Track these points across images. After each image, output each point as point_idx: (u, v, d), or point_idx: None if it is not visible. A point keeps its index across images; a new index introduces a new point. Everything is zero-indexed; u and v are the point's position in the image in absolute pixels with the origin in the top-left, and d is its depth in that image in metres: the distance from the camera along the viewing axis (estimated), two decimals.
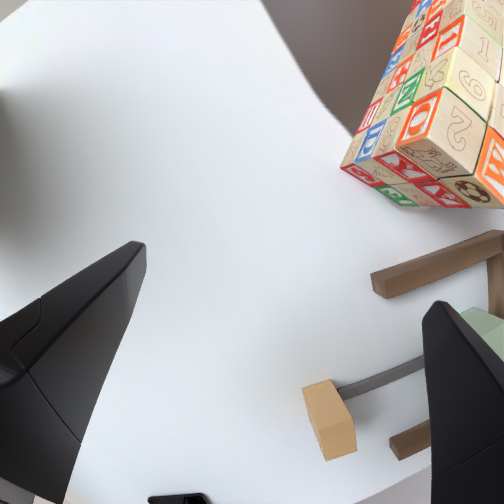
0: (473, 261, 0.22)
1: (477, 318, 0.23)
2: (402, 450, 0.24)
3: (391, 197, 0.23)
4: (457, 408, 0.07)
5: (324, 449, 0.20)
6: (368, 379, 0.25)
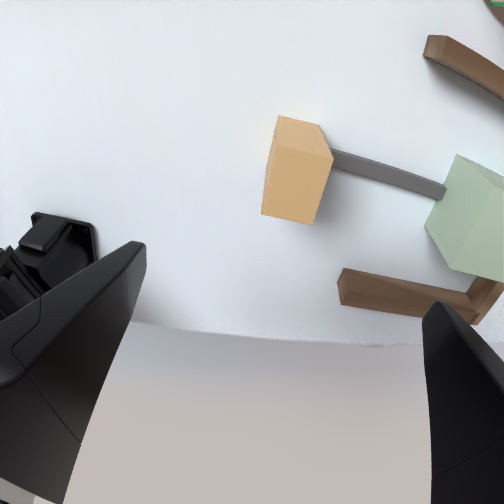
0: None
1: None
2: (352, 291, 0.22)
3: None
4: (457, 408, 0.07)
5: (269, 189, 0.14)
6: (364, 158, 0.19)
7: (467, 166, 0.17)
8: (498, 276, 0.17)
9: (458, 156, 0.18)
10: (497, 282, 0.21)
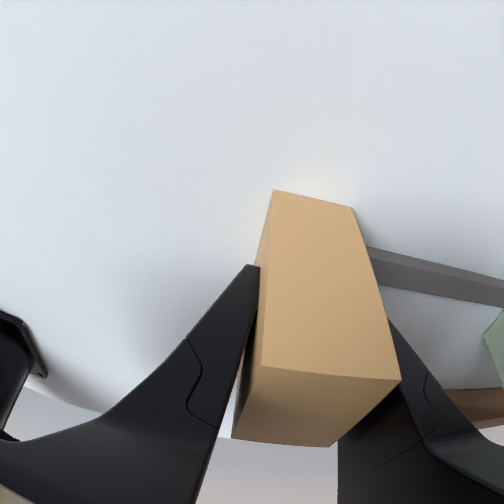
0: None
1: None
2: None
3: None
4: None
5: (245, 418, 0.06)
6: (423, 263, 0.10)
7: None
8: None
9: None
10: None
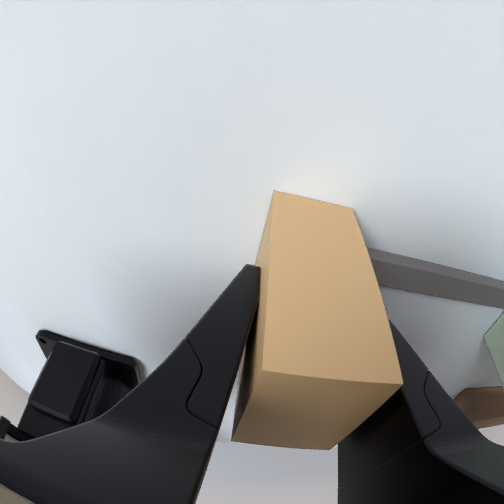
0: None
1: None
2: (477, 420, 0.14)
3: None
4: None
5: (245, 422, 0.06)
6: (424, 264, 0.10)
7: None
8: None
9: None
10: None
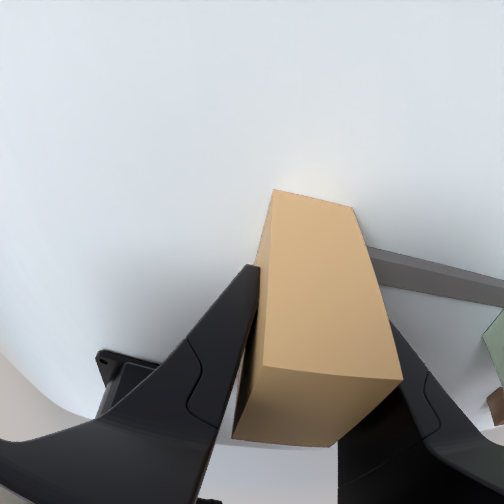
0: None
1: None
2: None
3: None
4: None
5: (245, 418, 0.06)
6: (423, 263, 0.10)
7: None
8: None
9: None
10: None
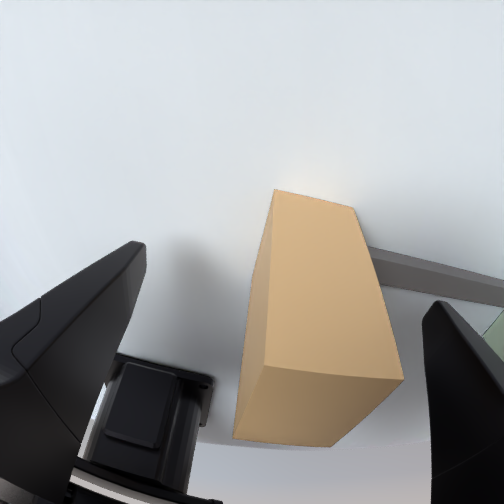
0: None
1: None
2: None
3: None
4: (457, 408, 0.07)
5: (247, 418, 0.06)
6: (424, 263, 0.10)
7: None
8: None
9: None
10: None
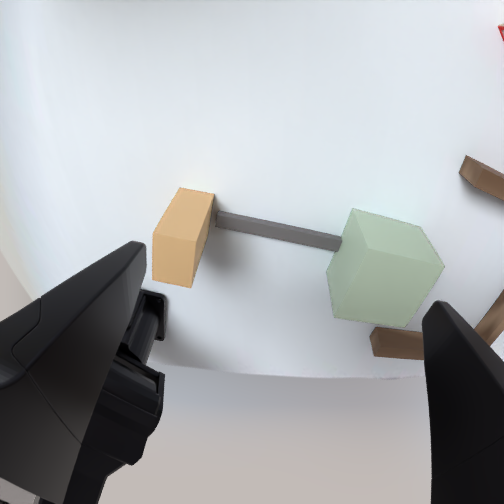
0: None
1: (415, 238, 0.21)
2: (384, 347, 0.27)
3: None
4: (457, 408, 0.07)
5: (154, 263, 0.19)
6: (256, 220, 0.23)
7: (356, 223, 0.21)
8: (394, 322, 0.22)
9: (353, 211, 0.22)
10: (493, 332, 0.26)
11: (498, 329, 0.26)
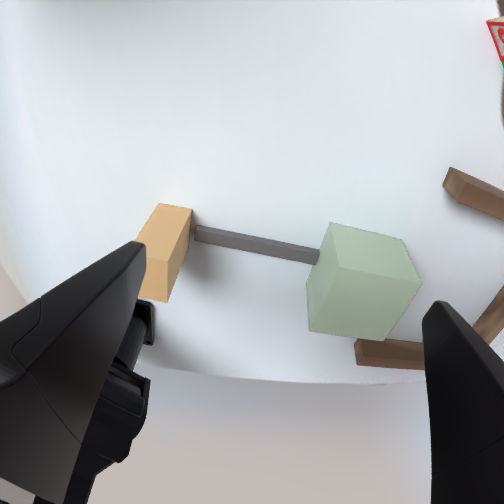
0: None
1: (394, 253, 0.21)
2: (366, 356, 0.28)
3: None
4: (457, 408, 0.07)
5: None
6: (234, 234, 0.24)
7: (331, 238, 0.21)
8: (371, 336, 0.22)
9: (330, 225, 0.22)
10: None
11: (487, 339, 0.26)
